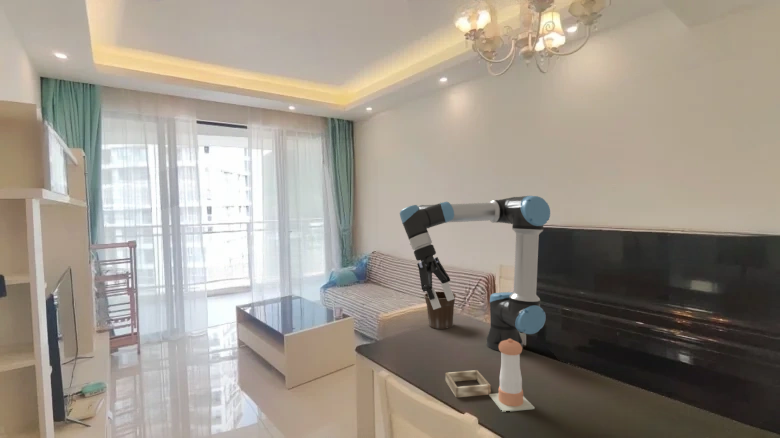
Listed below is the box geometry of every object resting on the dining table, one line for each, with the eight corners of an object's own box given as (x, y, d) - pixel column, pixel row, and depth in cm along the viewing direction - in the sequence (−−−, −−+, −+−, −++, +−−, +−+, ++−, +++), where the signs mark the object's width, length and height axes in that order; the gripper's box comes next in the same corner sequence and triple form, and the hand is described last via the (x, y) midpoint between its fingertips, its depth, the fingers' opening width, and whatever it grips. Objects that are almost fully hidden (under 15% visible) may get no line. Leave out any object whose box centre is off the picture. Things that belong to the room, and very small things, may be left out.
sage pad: (518, 392, 121) (518, 391, 121) (534, 409, 111) (534, 407, 111) (489, 395, 120) (489, 394, 120) (502, 412, 110) (502, 410, 110)
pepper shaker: (501, 392, 121) (501, 333, 120) (525, 397, 117) (524, 337, 117) (496, 402, 114) (495, 340, 114) (520, 408, 111) (519, 344, 110)
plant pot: (423, 330, 187) (422, 298, 186) (425, 320, 202) (425, 291, 202) (456, 331, 184) (456, 298, 183) (456, 321, 200) (455, 291, 199)
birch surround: (477, 378, 132) (477, 370, 132) (490, 394, 121) (490, 385, 121) (445, 381, 131) (445, 372, 131) (456, 397, 119) (455, 388, 119)
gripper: (427, 248, 147) (447, 299, 144) (398, 254, 125) (420, 315, 122) (444, 241, 144) (465, 294, 140) (416, 246, 122) (440, 309, 118)
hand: (444, 304), depth 131 cm, fingers open, 13 cm apart
